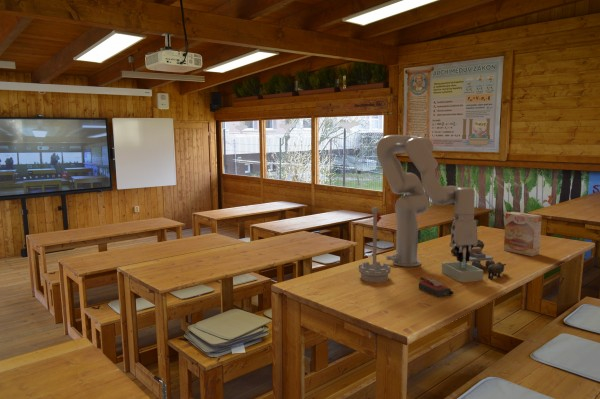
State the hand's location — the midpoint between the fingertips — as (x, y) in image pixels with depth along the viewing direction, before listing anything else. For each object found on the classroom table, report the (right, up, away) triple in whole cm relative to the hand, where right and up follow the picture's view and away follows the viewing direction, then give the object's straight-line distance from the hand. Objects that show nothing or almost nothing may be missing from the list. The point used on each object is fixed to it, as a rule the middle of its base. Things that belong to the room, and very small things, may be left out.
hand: (463, 260), depth 195 cm
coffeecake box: (+43, -1, +39) cm, 58 cm away
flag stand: (-37, -7, 0) cm, 38 cm away
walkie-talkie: (-17, -10, -14) cm, 24 cm away
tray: (0, -7, +1) cm, 7 cm away
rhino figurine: (+15, -7, +1) cm, 16 cm away
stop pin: (0, -3, 0) cm, 3 cm away
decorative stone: (+15, -2, +37) cm, 40 cm away
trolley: (+11, -5, +14) cm, 19 cm away
